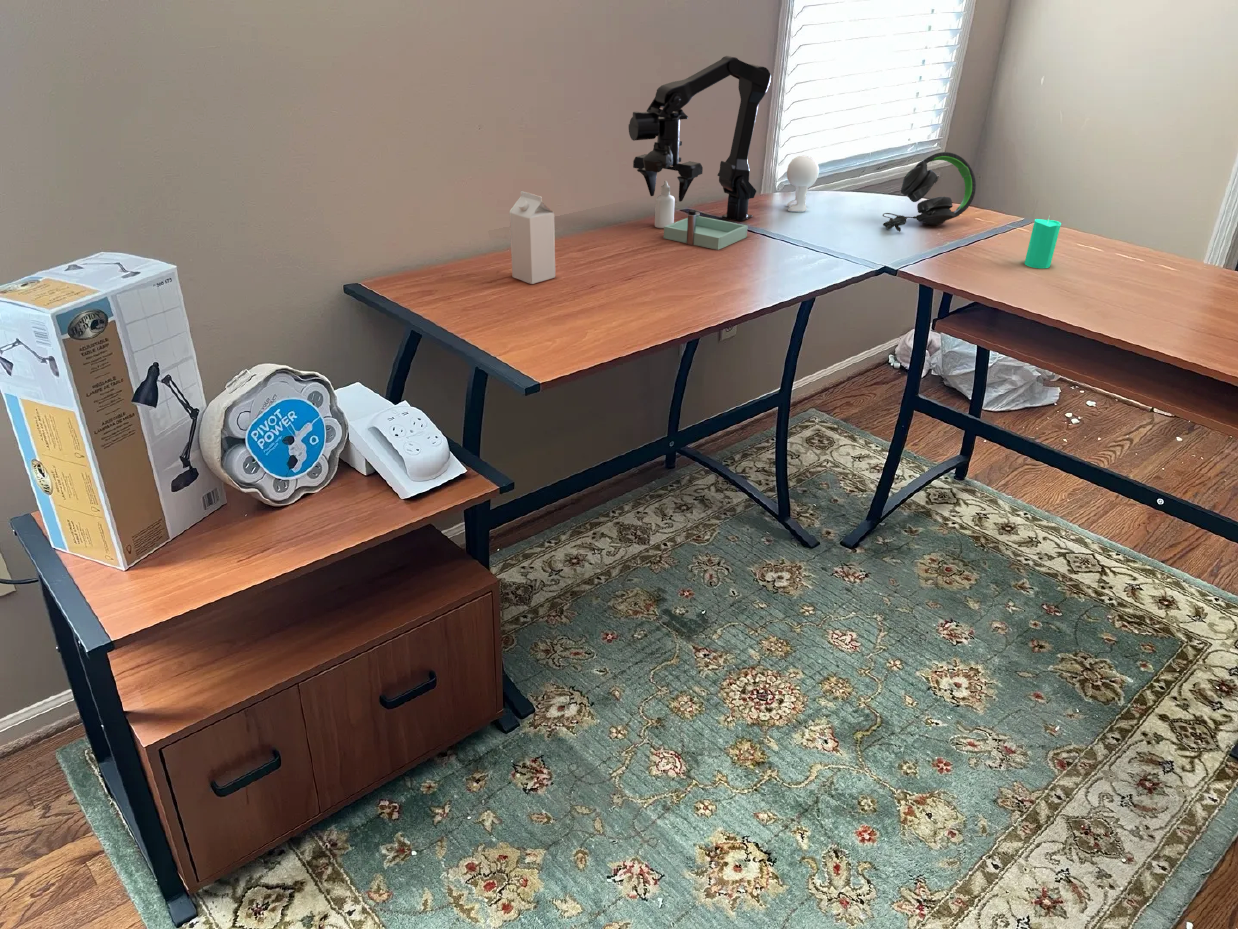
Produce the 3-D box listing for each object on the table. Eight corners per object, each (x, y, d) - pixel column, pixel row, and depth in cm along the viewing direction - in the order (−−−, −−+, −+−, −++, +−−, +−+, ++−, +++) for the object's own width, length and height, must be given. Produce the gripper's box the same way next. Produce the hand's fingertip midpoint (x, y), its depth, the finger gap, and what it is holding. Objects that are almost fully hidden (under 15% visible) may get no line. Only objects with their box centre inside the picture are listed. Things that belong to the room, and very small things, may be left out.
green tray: (693, 226, 248) (694, 214, 246) (746, 237, 239) (747, 225, 238) (663, 238, 238) (663, 226, 236) (718, 250, 229) (718, 237, 228)
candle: (1020, 264, 222) (1032, 215, 216) (1029, 259, 225) (1041, 210, 219) (1044, 270, 218) (1057, 220, 212) (1054, 264, 222) (1067, 215, 216)
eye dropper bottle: (652, 224, 249) (653, 179, 243) (672, 223, 250) (673, 178, 244) (656, 228, 245) (657, 183, 239) (676, 227, 246) (678, 182, 240)
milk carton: (535, 270, 213) (533, 188, 203) (555, 278, 209) (553, 194, 199) (512, 277, 209) (508, 193, 199) (531, 285, 204) (528, 199, 195)
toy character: (782, 204, 270) (787, 151, 262) (813, 205, 269) (819, 152, 261) (783, 212, 262) (789, 158, 254) (815, 213, 261) (822, 159, 253)
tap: (692, 240, 236) (694, 207, 232) (700, 242, 235) (702, 209, 231) (684, 243, 233) (686, 211, 229) (691, 245, 232) (693, 212, 228)
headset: (893, 257, 254) (975, 200, 256) (915, 249, 241) (1002, 189, 243) (859, 202, 252) (943, 144, 253) (880, 191, 238) (968, 131, 240)
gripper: (621, 137, 235) (620, 198, 243) (681, 147, 226) (678, 210, 234) (645, 131, 243) (644, 191, 251) (705, 140, 233) (701, 201, 241)
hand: (666, 198), depth 244 cm, fingers open, 9 cm apart
